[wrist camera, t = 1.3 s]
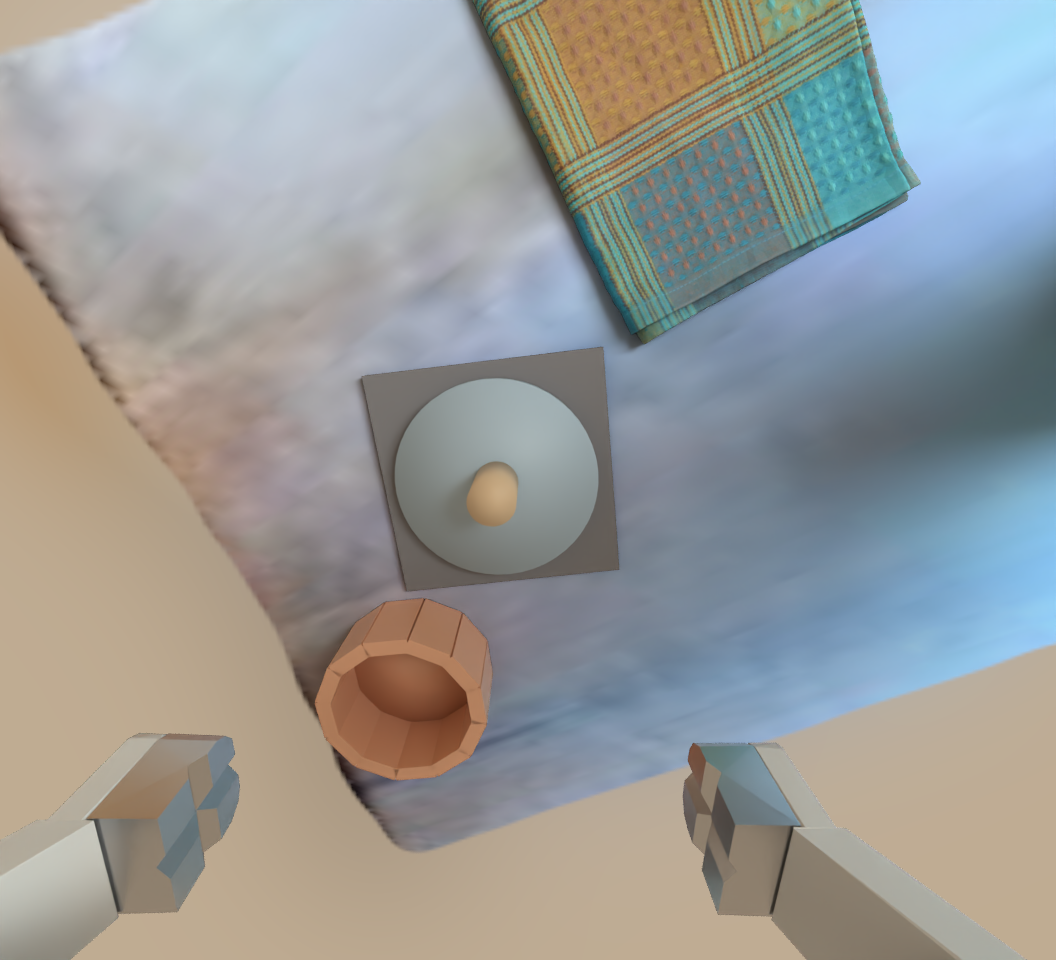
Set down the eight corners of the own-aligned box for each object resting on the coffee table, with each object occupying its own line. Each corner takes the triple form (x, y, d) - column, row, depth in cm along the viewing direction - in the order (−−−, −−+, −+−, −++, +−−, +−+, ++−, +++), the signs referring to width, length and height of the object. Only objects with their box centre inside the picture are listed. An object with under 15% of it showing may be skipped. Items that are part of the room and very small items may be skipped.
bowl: (479, 592, 35) (471, 632, 30) (500, 717, 38) (495, 771, 33) (330, 607, 36) (299, 649, 31) (362, 729, 39) (338, 785, 34)
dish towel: (632, 352, 31) (641, 353, 28) (436, -58, 25) (426, -100, 23) (899, 205, 28) (933, 192, 26) (749, -287, 23) (775, -362, 20)
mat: (601, 347, 30) (603, 347, 30) (617, 565, 34) (619, 569, 34) (364, 375, 31) (361, 376, 30) (408, 586, 35) (406, 591, 34)
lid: (588, 365, 30) (598, 371, 25) (603, 557, 34) (615, 594, 29) (380, 390, 31) (352, 400, 26) (418, 576, 34) (399, 616, 29)
